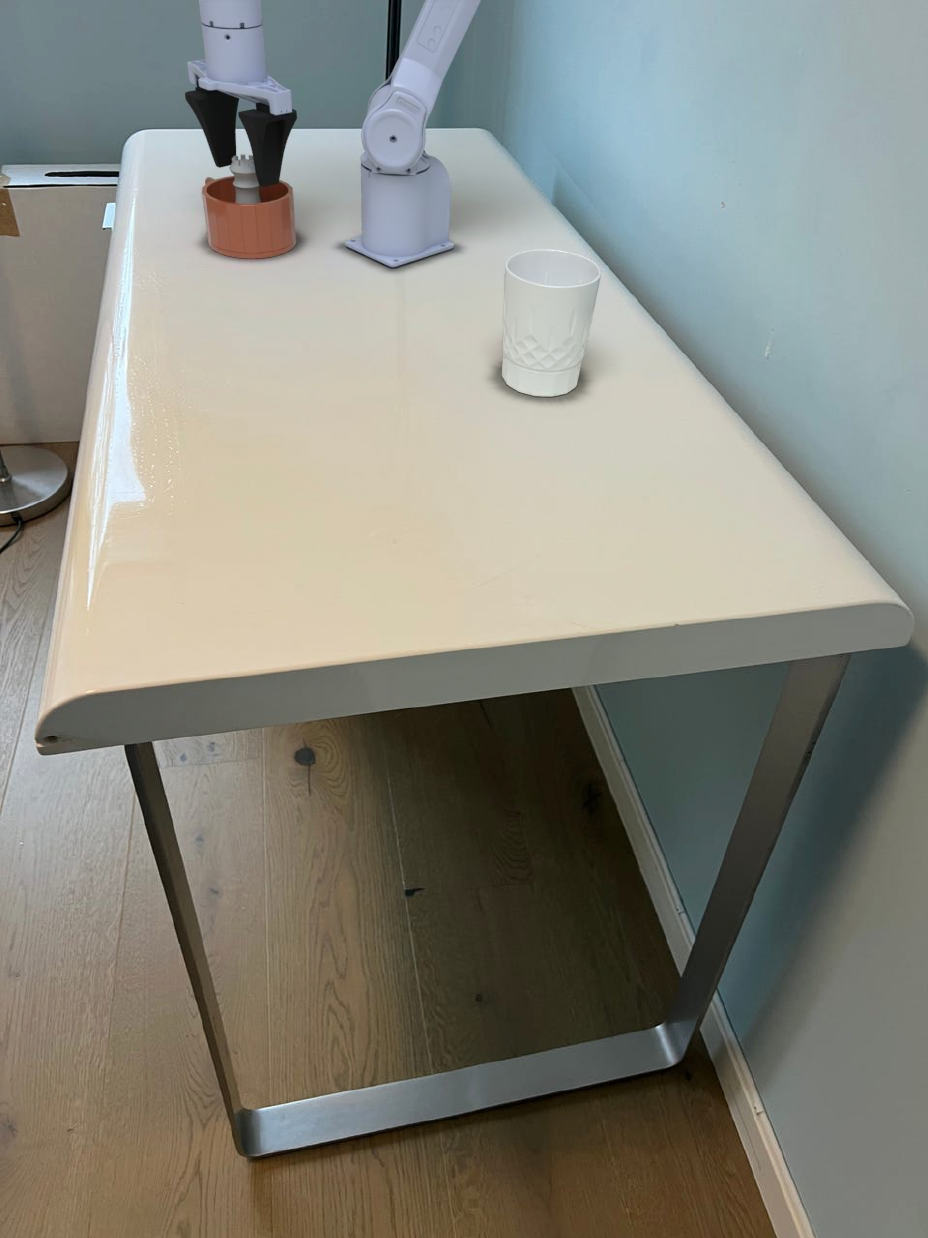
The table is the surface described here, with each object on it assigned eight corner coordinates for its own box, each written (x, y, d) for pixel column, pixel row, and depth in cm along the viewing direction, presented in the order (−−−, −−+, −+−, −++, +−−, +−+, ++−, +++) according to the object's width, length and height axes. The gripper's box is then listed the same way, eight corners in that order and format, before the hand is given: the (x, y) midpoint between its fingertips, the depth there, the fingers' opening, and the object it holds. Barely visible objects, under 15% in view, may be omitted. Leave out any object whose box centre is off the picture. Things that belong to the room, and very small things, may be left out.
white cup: (579, 407, 80) (596, 292, 73) (488, 393, 81) (497, 279, 74) (588, 365, 86) (605, 255, 79) (503, 352, 86) (513, 243, 80)
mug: (313, 245, 103) (310, 192, 99) (242, 265, 98) (236, 211, 94) (246, 212, 109) (241, 162, 106) (175, 230, 104) (168, 178, 100)
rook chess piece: (232, 228, 104) (224, 150, 98) (273, 229, 104) (267, 152, 99) (228, 243, 100) (219, 164, 95) (271, 244, 101) (264, 165, 96)
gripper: (152, 13, 90) (174, 163, 99) (242, 42, 83) (257, 201, 92) (214, 6, 94) (230, 151, 103) (305, 33, 87) (313, 187, 96)
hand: (247, 174), depth 98 cm, fingers open, 7 cm apart
